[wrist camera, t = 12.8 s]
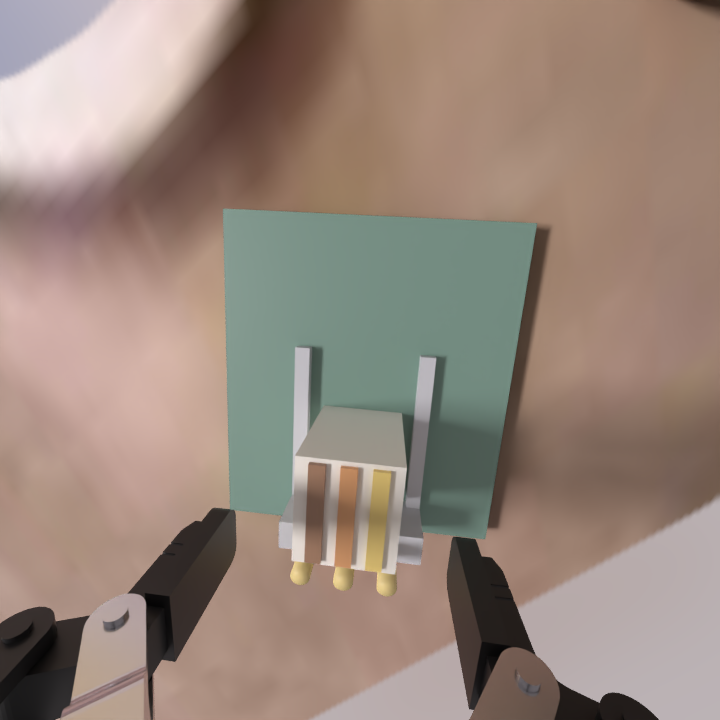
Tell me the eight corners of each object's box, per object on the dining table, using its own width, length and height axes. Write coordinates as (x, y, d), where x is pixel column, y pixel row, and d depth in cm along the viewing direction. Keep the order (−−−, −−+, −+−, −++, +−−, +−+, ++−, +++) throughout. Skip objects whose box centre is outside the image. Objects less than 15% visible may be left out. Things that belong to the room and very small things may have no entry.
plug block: (323, 405, 19) (293, 458, 13) (401, 412, 19) (406, 470, 13) (320, 482, 20) (290, 564, 14) (393, 491, 20) (395, 578, 14)
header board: (231, 212, 18) (150, 173, 12) (529, 227, 17) (607, 191, 11) (237, 499, 22) (177, 581, 16) (480, 527, 21) (518, 628, 15)
